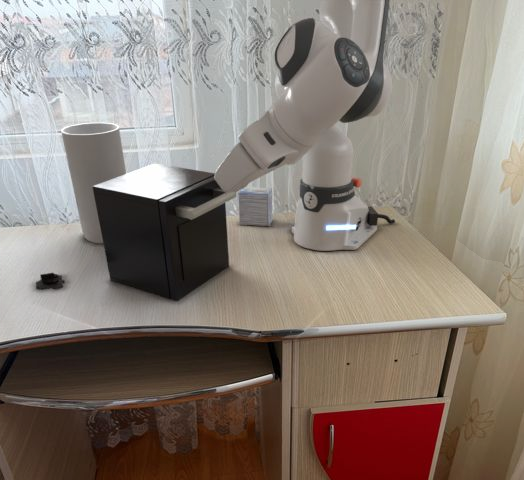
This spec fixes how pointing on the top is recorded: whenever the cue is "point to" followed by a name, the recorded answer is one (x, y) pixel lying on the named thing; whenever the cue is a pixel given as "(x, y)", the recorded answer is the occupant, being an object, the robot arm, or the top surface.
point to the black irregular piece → (50, 281)
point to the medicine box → (255, 206)
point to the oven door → (194, 235)
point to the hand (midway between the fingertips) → (236, 187)
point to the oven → (139, 224)
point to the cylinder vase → (92, 167)
